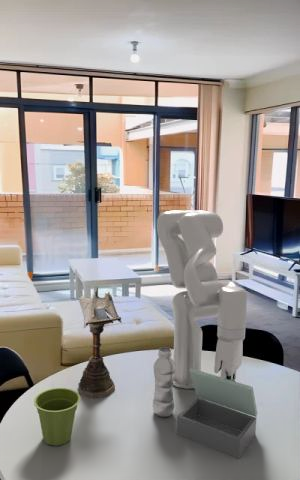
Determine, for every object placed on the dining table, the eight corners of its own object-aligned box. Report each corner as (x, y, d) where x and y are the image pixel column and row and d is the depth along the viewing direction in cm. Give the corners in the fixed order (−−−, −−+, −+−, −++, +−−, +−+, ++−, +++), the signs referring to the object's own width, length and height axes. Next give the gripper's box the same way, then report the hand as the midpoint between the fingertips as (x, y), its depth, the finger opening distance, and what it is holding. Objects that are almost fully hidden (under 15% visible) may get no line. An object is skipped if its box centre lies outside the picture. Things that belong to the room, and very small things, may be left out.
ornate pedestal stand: (127, 401, 130) (129, 292, 124) (86, 408, 125) (85, 296, 120) (113, 377, 145) (114, 279, 140) (76, 382, 141) (75, 281, 135)
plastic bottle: (159, 422, 119) (161, 356, 116) (148, 410, 125) (149, 347, 122) (178, 416, 122) (180, 352, 119) (166, 405, 128) (168, 343, 125)
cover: (189, 371, 117) (190, 368, 118) (197, 396, 123) (198, 394, 124) (251, 390, 107) (252, 386, 108) (256, 417, 114) (257, 414, 114)
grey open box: (176, 433, 114) (177, 416, 114) (196, 413, 124) (197, 397, 124) (238, 458, 105) (240, 440, 104) (255, 434, 115) (256, 417, 114)
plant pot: (58, 458, 103) (57, 416, 101) (25, 441, 109) (24, 402, 108) (89, 434, 113) (89, 395, 111) (57, 420, 119) (56, 383, 118)
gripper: (228, 321, 123) (225, 379, 126) (207, 337, 110) (205, 401, 113) (252, 326, 119) (249, 386, 122) (234, 343, 107) (231, 410, 109)
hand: (228, 393), depth 117 cm, fingers closed
